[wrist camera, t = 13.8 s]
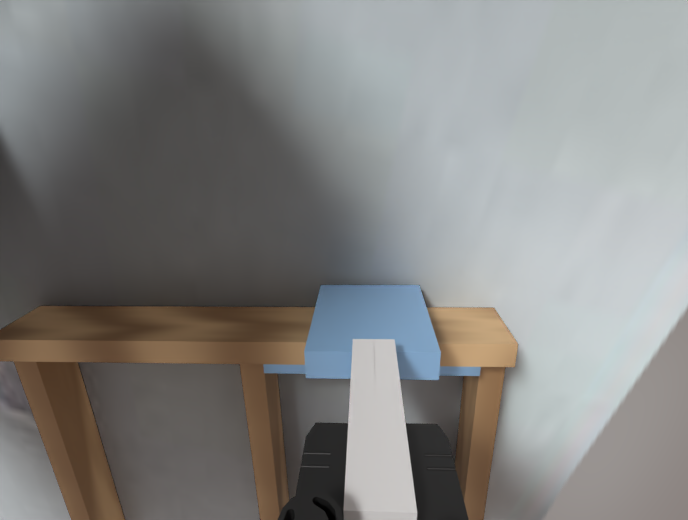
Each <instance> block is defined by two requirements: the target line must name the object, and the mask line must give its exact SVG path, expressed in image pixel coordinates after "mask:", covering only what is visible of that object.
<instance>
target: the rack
mask: <svg viewBox="0 0 688 520" xmlns="http://www.w3.org/2000/svg"><path fill="white" fill-rule="evenodd" d="M314 310H315V307H184V306H39V307H38V308H36V309H34V310H33V311H31V312H29V313H27V314H26V315H24V316H22V317H21V318H19V319H17V320H16V321H14V322H12V323H11V324H9V325H7V326H6V327H4V328H2V329H1V330H0V361H14V364H15V367H16V369H17V372H18V375H19V378H20V380H21V383H22V386H23V389H24V391H25V394H26V397H27V400H28V402H29V405H30V408H31V410H32V413H33V416H34V419H35V421H36V424H37V427H38V430H39V432H40V435H41V438H42V441H43V443H44V446H45V449H46V451H47V454H48V457H49V460H50V462H51V465H52V468H53V471H54V473H55V476H56V479H57V482H58V484H59V487H60V490H61V493H62V495H63V498H64V501H65V503H66V506H67V509H68V512H69V514H70V517H71V520H125V518H124V515H123V512H122V508H121V505H120V502H119V498H118V495H117V492H116V488H115V485H114V482H113V478H112V475H111V472H110V468H109V465H108V462H107V458H106V455H105V452H104V448H103V445H102V442H101V438H100V435H99V432H98V428H97V425H96V422H95V418H94V415H93V412H92V408H91V405H90V402H89V398H88V395H87V392H86V388H85V385H84V382H83V378H82V375H81V372H80V368H79V365H78V362H108V363H194V364H240V371H241V379H242V386H243V394H244V401H245V409H246V416H247V424H248V431H249V439H250V447H251V454H252V462H253V469H254V477H255V484H256V492H257V500H258V507H259V515H260V520H278V517H279V515H280V513H281V510H282V508H283V507H284V506H285V505H286V504H287V503H288V502H289V491H288V481H287V470H286V459H285V449H284V438H283V428H282V417H281V406H280V396H279V385H278V374H277V373H282V374H306V372H305V356H304V350H305V346H306V342H307V338H308V334H309V330H310V326H311V322H312V318H313V314H314ZM427 310H428V314H429V317H430V320H431V323H432V326H433V329H434V332H435V336H436V339H437V342H438V345H439V348H440V351H441V358H440V371H439V376H464V378H463V388H462V397H461V407H460V417H459V427H458V437H457V447H456V456H455V469H456V472H457V476H458V479H459V483H460V487H461V491H462V495H463V499H464V503H465V507H466V511H467V515H468V519H469V520H483V519H484V512H485V505H486V498H487V491H488V484H489V477H490V470H491V463H492V456H493V449H494V442H495V435H496V429H497V422H498V415H499V408H500V401H501V394H502V387H503V380H504V373H505V367H515V361H516V355H517V348H518V343H517V342H516V340H515V339H514V337H513V336H512V334H511V333H510V331H509V330H508V328H507V327H506V325H505V324H504V322H503V321H502V319H501V318H500V316H499V315H498V313H497V312H496V310H495V309H494V308H438V307H427Z"/></svg>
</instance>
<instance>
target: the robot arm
mask: <svg viewBox="0 0 688 520" xmlns="http://www.w3.org/2000/svg"><path fill="white" fill-rule="evenodd" d="M278 520H469V519H468V515H467V511H466V507H465V503H464V499H463V495H462V491H461V487H460V483H459V479H458V476H457V472H456V469H455V464H454V460H453V457H452V452H451V448H450V444H449V440H448V438H447V436H446V435H445V434H444V432H443V431H442V430H441V428H440V427H439V426H438V425H437V424H407V423H405V415H404V407H403V400H402V392H401V384H400V377H399V369H398V361H397V354H396V346H395V339H353V345H352V363H351V381H350V400H349V418H348V423H315V425H314V426H313V427H312V429H311V430H310V432H309V433H308V434H307V436H306V441H305V446H304V453H303V457H302V463H301V468H300V474H299V479H298V485H297V490H296V496H295V497H293V498H292V499H290V500H289V502H288V503H287V504H286V505H285V506H284V507H283V508H282V510H281V513H280V515H279V517H278Z"/></svg>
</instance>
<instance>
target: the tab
mask: <svg viewBox="0 0 688 520" xmlns="http://www.w3.org/2000/svg"><path fill="white" fill-rule="evenodd" d="M353 339H395V346H396V354H397V361H398V369H399V377H400V379H403V380H439V371H440V358H441V351H440V348H439V345H438V342H437V339H436V336H435V332H434V329H433V326H432V323H431V320H430V317H429V314H428V310H427V307H426V304H425V301H424V298H423V295H422V292H421V289H420V285H321V286H320V290H319V294H318V298H317V302H316V306H315V310H314V314H313V318H312V322H311V326H310V330H309V334H308V338H307V342H306V346H305V350H304V356H305V372H306V378H327V379H351V363H352V345H353Z"/></svg>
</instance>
